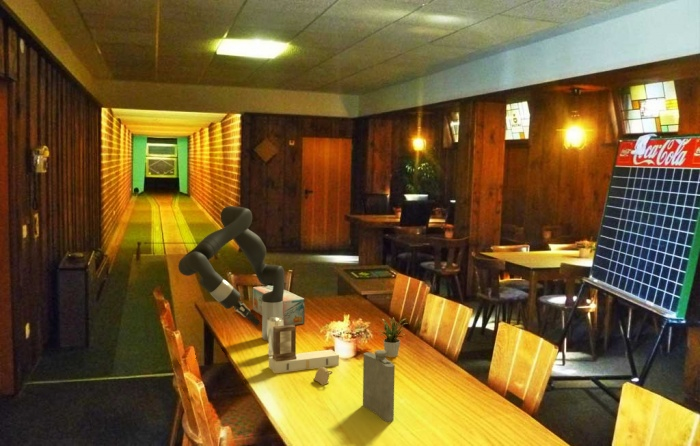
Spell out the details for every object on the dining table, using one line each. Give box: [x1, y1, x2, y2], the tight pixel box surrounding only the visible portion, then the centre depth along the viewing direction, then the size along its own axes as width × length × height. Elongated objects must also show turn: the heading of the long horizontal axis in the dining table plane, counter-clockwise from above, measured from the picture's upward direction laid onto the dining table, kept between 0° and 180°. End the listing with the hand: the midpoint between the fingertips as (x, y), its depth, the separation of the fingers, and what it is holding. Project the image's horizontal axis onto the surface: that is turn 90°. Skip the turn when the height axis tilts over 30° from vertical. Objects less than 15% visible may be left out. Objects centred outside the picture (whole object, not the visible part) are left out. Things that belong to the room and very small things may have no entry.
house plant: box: [378, 316, 408, 358], centre depth 262 cm, size 14×14×16 cm
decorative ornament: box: [313, 367, 333, 386], centre depth 229 cm, size 4×8×5 cm, turn 31°
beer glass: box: [267, 317, 284, 357], centre depth 261 cm, size 7×7×15 cm
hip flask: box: [362, 349, 396, 423], centre depth 202 cm, size 16×4×20 cm, turn 29°
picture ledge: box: [268, 349, 340, 374], centre depth 247 cm, size 26×8×4 cm, turn 114°
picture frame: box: [273, 325, 297, 361], centre depth 243 cm, size 8×5×12 cm, turn 114°
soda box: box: [252, 285, 306, 326], centre depth 325 cm, size 41×14×13 cm, turn 28°
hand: (255, 321), depth 238 cm, fingers open, 8 cm apart
